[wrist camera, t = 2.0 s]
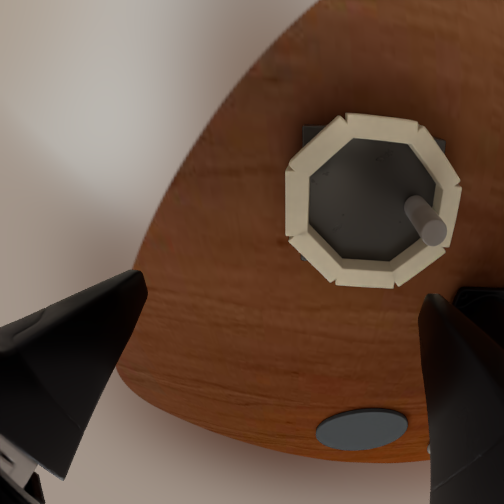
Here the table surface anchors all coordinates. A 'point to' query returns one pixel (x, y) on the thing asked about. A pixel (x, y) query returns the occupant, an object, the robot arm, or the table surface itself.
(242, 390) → the table surface
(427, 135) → the ring
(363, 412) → the felt pad
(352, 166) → the peg stand
